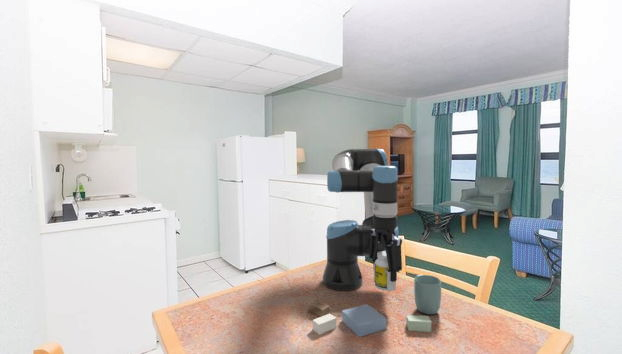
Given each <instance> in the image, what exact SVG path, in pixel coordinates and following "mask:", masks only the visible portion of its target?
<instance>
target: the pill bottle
mask: <svg viewBox="0 0 622 354" xmlns="http://www.w3.org/2000/svg"><path fill="white" fill-rule="evenodd" d="M377 258H378V259H376V261H375V282H374V285H375V286H374V287H376V288H377V289H378V290H381V291H387V270H389V266H388V261H387V255H386V251H380V252H378V253H377Z"/></svg>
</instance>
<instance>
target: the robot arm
mask: <svg viewBox="0 0 622 354" xmlns="http://www.w3.org/2000/svg"><path fill="white" fill-rule="evenodd" d="M331 167H332V170H329V171H328V172H327V174H326V175H327V176H326V177H327V178H326V179H327V181H326V184H327V185H326V186H327V190H328V192H330V193H363V199H364V214H365V219H363V220H362V224H358V221H357V220H354V219H353V220H351V219H346V220H339V221H335V222H332V223H330V224H328V226H327V229H326V236H325V237H326V256H327V257H326V265H325V268H324V271H323V274H322V284H323V285H324V286H325V287H327V288H328V289H332V290H334V291H335V290H336V291H352V290H356V289H358V288H360V287H361V286H362V285H363V274H362V272H361V268H360V266H359V263H358V260H359V258H358V257H369V259H371V260H372V263H373V267H372V269H373V282H374V283H375V261H376V259H378V258H377V253H378V252H380V251H386V255H387V261H388V266H389V270H387V290H386V292H393V291H396V290H397V288H396V287H397V286H396V285H397V277H398V276H397V272H400V271H401V272H402V270H403V260H402V244H403V239H402V238H400V237H399V225H398V216H397V215H398V179H399V176H398V167H396V166H395V165H388V156H387V154H386V151H385V150H384V149H382V148H349V149H345V150H343V151H340V152H339V153H337V154H336V155H335V156H334V157H333V158H332V161H331Z"/></svg>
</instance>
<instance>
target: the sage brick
mask: <svg viewBox="0 0 622 354" xmlns="http://www.w3.org/2000/svg"><path fill="white" fill-rule="evenodd" d="M406 328H407V330H408V331H409V332H424V333H425V332H427V333H428V332H429V333H431V332H432V320H431V318H430V316H429V315H414V314H412V315H411V314H409V315H408V314H407V315H406Z"/></svg>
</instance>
